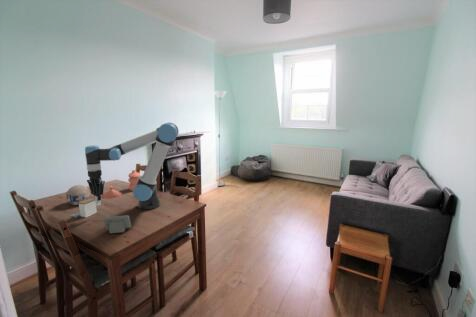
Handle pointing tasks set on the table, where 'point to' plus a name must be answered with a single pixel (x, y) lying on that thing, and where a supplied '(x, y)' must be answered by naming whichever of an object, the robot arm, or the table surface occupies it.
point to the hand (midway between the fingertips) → (98, 204)
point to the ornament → (77, 194)
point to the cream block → (87, 207)
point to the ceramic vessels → (113, 194)
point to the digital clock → (117, 223)
